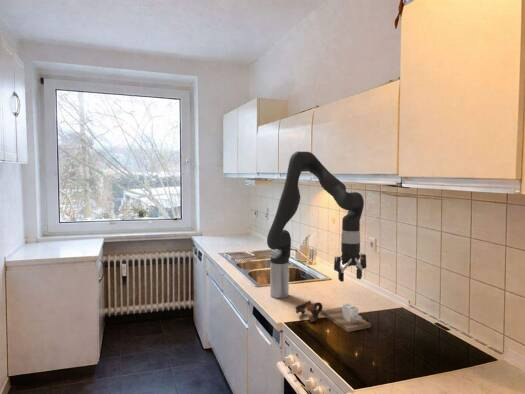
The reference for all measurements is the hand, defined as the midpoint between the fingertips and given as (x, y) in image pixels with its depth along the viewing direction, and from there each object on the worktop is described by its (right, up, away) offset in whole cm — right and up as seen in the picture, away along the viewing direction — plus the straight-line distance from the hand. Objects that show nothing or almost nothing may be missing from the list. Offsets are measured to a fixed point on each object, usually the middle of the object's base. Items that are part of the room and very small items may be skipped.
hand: (350, 279), depth 156 cm
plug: (+1, -17, +1) cm, 17 cm away
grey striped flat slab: (-1, -18, +4) cm, 19 cm away
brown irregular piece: (-16, -18, +8) cm, 25 cm away
